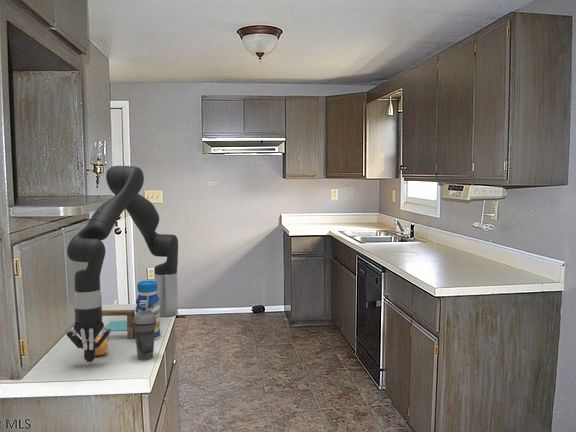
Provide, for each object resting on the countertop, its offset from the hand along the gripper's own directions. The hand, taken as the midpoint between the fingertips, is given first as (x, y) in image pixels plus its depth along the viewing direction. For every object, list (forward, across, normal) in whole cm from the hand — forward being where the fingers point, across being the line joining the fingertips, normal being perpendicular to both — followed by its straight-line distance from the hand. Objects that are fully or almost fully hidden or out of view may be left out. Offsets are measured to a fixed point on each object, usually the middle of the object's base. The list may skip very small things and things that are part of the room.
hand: (90, 360), depth 146 cm
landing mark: (+2, 0, -39) cm, 39 cm away
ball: (-2, 0, -9) cm, 9 cm away
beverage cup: (+2, -15, -5) cm, 16 cm away
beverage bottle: (+2, -12, -24) cm, 27 cm away
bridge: (+2, 0, -25) cm, 25 cm away
